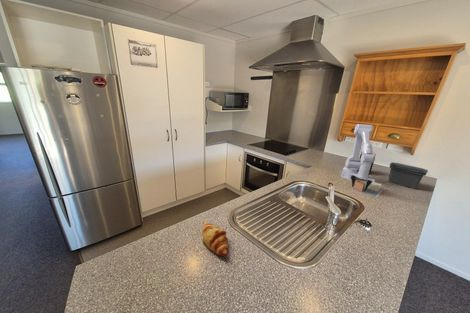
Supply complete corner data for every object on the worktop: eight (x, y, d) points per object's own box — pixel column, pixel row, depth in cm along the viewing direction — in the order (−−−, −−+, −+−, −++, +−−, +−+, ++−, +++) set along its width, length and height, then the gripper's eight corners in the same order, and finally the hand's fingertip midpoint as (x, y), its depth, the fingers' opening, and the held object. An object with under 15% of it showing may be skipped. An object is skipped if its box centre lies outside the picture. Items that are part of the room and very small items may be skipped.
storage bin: (383, 181, 147) (388, 164, 143) (387, 176, 157) (392, 160, 153) (419, 192, 132) (427, 173, 128) (421, 185, 143) (428, 168, 138)
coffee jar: (369, 171, 166) (375, 152, 160) (370, 175, 157) (376, 155, 152) (356, 169, 171) (361, 150, 165) (356, 172, 163) (361, 153, 157)
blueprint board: (350, 190, 130) (352, 184, 129) (359, 182, 143) (360, 177, 141) (376, 199, 120) (378, 192, 118) (382, 190, 133) (384, 184, 131)
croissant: (200, 234, 87) (191, 224, 83) (217, 220, 90) (209, 210, 86) (220, 268, 70) (210, 258, 66) (240, 250, 73) (232, 238, 69)
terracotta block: (353, 188, 131) (355, 182, 129) (355, 186, 134) (357, 180, 132) (361, 191, 127) (363, 185, 126) (363, 189, 130) (365, 183, 129)
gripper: (350, 168, 128) (345, 185, 133) (375, 175, 118) (369, 193, 123) (353, 166, 133) (349, 183, 137) (378, 172, 123) (372, 190, 127)
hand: (359, 188), depth 130 cm, fingers open, 7 cm apart
